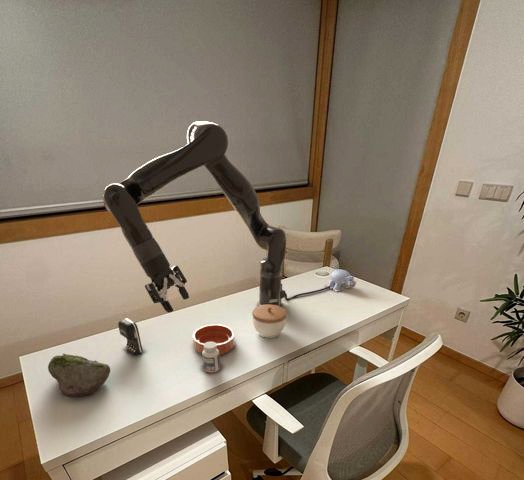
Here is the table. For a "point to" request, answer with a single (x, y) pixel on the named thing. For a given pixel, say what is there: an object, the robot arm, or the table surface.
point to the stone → (78, 374)
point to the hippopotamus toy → (341, 279)
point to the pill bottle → (211, 357)
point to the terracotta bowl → (214, 338)
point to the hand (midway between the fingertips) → (179, 304)
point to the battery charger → (131, 335)
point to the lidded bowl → (269, 320)
